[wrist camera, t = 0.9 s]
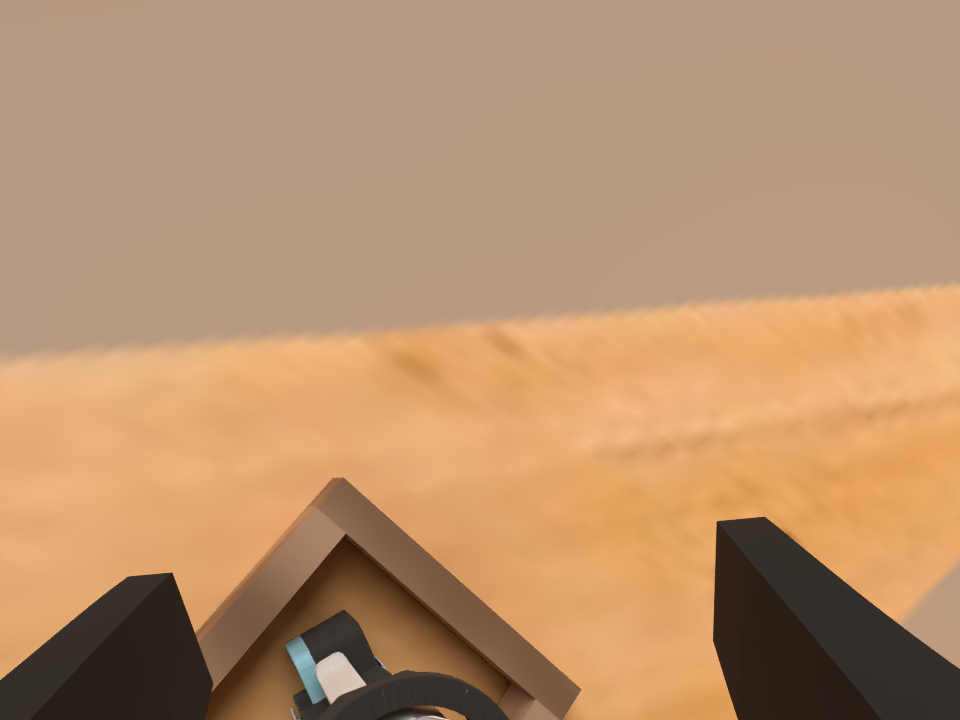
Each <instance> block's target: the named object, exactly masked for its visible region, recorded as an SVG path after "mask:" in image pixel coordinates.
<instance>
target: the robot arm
mask: <svg viewBox="0 0 960 720" xmlns="http://www.w3.org/2000/svg"><path fill="white" fill-rule="evenodd" d="M713 641H714V645H715V648H716V651H717V655H718V658H719V661H720V665H721V668H722V671H723V674H724V678H725V681H726V684H727V687H728V690H729V693H730V697H731V700H732V703H733V706H734V709H735V712H736V715H737V718H738V720H960V669H959V668H957V667H956V666H955V665H953V664H952V663H950V662H949V661H948V660H946V659H945V658H943V657H942V656H941V655H939V654H938V653H937V652H935V651H934V650H933V649H931V648H930V647H928V646H927V645H926V644H924V643H923V642H922V641H920V640H919V639H918V638H916V637H915V636H914V635H912V634H911V633H910V632H908V631H907V630H906V629H904V628H903V627H902V626H900V625H899V624H898V623H897V622H895V621H894V620H893V619H891V618H890V617H889V616H887V615H886V614H885V613H883V612H882V611H881V610H880V609H878V608H877V607H876V606H874V605H873V604H872V603H871V602H869V601H868V600H867V599H865V598H864V597H863V596H862V595H860V594H859V593H858V592H857V591H855V590H854V589H853V588H852V587H850V586H849V585H848V584H847V583H845V582H844V581H843V580H842V579H840V578H839V577H838V576H837V575H836V574H834V573H833V572H832V571H831V570H829V569H828V568H827V567H826V566H824V565H823V564H822V563H821V562H820V561H818V560H817V559H816V558H815V557H813V556H812V555H811V554H810V553H809V552H807V551H806V550H805V549H804V548H802V547H801V546H800V545H799V544H798V543H796V542H795V541H794V540H793V539H791V538H790V537H789V536H788V535H787V534H785V533H784V532H783V531H782V530H781V529H779V528H778V527H777V526H776V525H774V524H773V523H772V522H771V521H769V520H768V519H767V518H766V517H758V518H747V519H736V520H726V521H717V531H716V563H715V596H714V628H713ZM213 684H214V683H213V681H212V678H211V675H210V673H209V670H208V667H207V665H206V662H205V659H204V656H203V654H202V651H201V648H200V646H199V643H198V640H197V638H196V635H195V632H194V630H193V627H192V624H191V622H190V619H189V616H188V613H187V611H186V608H185V605H184V603H183V600H182V597H181V595H180V592H179V589H178V587H177V584H176V581H175V579H174V576H173V573H162V574H151V575H141V576H130V577H127V578H126V579H124V580H123V581H122V582H120V583H119V584H117V585H116V586H115V587H113V588H112V589H111V590H109V591H108V592H107V593H106V594H104V595H103V596H102V597H101V598H99V599H98V600H97V601H96V602H94V603H93V604H92V605H91V606H89V607H88V608H87V609H86V610H84V611H83V612H82V613H81V614H80V615H78V616H77V617H76V618H75V619H74V620H72V621H71V622H70V623H69V624H67V625H66V626H65V627H64V628H63V629H61V630H60V631H59V632H58V633H57V634H55V635H54V636H53V637H52V638H51V639H49V640H48V641H47V642H46V643H45V644H43V645H42V646H41V647H40V648H39V649H38V650H36V651H35V652H34V653H33V654H31V655H30V656H29V657H28V658H27V659H25V660H24V661H23V662H22V663H21V664H19V665H18V666H17V667H16V668H15V669H13V670H12V671H11V672H10V673H9V674H7V675H6V676H5V677H4V678H2V679H1V680H0V720H205V716H206V712H207V708H208V704H209V700H210V696H211V692H212V688H213Z"/></svg>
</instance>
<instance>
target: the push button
mask: <svg viewBox="0 0 960 720" xmlns="http://www.w3.org/2000/svg"><path fill="white" fill-rule="evenodd" d="M284 645H285V647H286V649H287V651H288V654H289V656H290V658H291V660H292V662H293V664H295V666H296V668H297V670H298V673H299V675H300V677H301V679H302V681H303V683H304V686H305V689H303V690H302V691H300V692H299V693H297V694H295V695H294V696H293V699H294V702H295V704H296V706H297V708H298V711H299V713H300V715H301V717H300V719H297V716H296V714H295V712H294V710H293V708H291V709H290V710H291V713H292V716H293V719H294V720H449V719H447V718H445V717H444V716H443V715H442V714H441V713H440V712H439V711H438V710H437V709H436V708H435V707H434V706H437V707H443V708H447V709H450V710H453V711H456V712H458V713H460V714H462V715H464V716H465V717H466V719H467V720H509V718H508V717H507V716H506V714H505V713H504V712H503V711H502V710H501V709H500V707H499V706H498V705H497V704H496V703H495V702H494V701H492V700H491V699H490V698H489V697H488V696H487V695H485V694H484V693H483V692H481V691H480V690H478V689H477V688H475V687H474V686H472V685H470V684H469V683H467V682H465V681H463V680H460V679H458V678H455V677H452V676H449V675H444V674H440V673H431V672H414V671H408V670H406V671H402V672H399V673H397V674H394V675H391V674H390V673H389V672H388V671H387V670H386V667H385V665H383V663H382V662H381V661H380V660H379V659H378V658H377V657H376V656H375V657H374V655H373V653H372V651H371V649H370V647H369V644H368V642H367V640H366V638H365V636H364V634H363V631H362V629H361V627H360V626H359V624H358V622H357V621H356V620H355V619H354V618H353V617H351V616H350V615H349V614H348V613H347V612H346V611H345V610H343V611H341V612H339V613H337V614H336V615H334V616H332V617H331V618H329V619H327V620H325V621H324V622H322V623H320V624H318V625H317V626H315V627H313V628H311V629H310V630H308V631H306V632H305V633H303V634H301V635H300V636H298V637H296V638H295V639H293V640H291V641H289V642H288V643H286V644H284Z"/></svg>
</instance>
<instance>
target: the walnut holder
mask: <svg viewBox="0 0 960 720" xmlns="http://www.w3.org/2000/svg"><path fill="white" fill-rule="evenodd" d="M342 537H345V538H346V539H347V540H348V541H349V542H350V543H352V544H353V545H354V546H355V547H356V548H357V549H358V550H360V551H361V552H362V553H363V554H364V555H365V556H366V557H368V558H369V559H370V560H371V561H372V562H373V563H374V564H376V565H377V566H378V567H379V568H380V569H381V570H382V571H384V572H385V573H386V574H387V575H388V576H389V577H390V578H392V579H393V580H394V581H395V582H396V583H397V584H398V585H400V586H401V587H402V588H403V589H404V590H405V591H407V592H408V593H409V594H410V595H411V596H412V597H413V598H415V599H416V600H417V601H418V602H419V603H420V604H421V605H423V606H424V607H425V608H426V609H427V610H428V611H429V612H431V613H432V614H433V615H434V616H435V617H436V618H437V619H439V620H440V621H441V622H442V623H443V624H444V625H445V626H447V627H448V628H449V629H450V630H451V631H452V632H453V633H455V634H456V635H457V636H458V637H459V638H460V639H462V640H463V641H464V642H465V643H466V644H467V645H468V646H470V647H471V648H472V649H473V650H474V651H475V652H476V653H478V654H479V655H480V656H481V657H482V658H483V659H484V660H486V661H487V662H488V663H489V664H490V665H491V666H492V667H494V668H495V669H496V670H497V671H498V672H499V673H500V674H502V675H503V676H504V677H505V678H506V679H507V680H508V681H510V682H511V685H510V686H509V688H508V689H507V691H506V692H505V694H504V695H503V697H502V698H501V700H500V701H499V703H498V704H497V705H498V706H499V707H500V709H501V710H502V711H503V712H504V713H505V714H506V716H507V717H508V718H509V720H563V718H564V716H565V715H566V713H567V712H568V710H569V708H570V707H571V705H572V704H573V702H574V700H575V699H576V697H577V696H578V694H579V693H580V691H581V689H580V688H579V687H578V686H577V685H576V684H575V683H573V682H572V681H571V680H570V679H569V678H568V677H567V676H566V675H565V674H563V673H562V672H561V671H560V670H559V669H558V668H557V667H556V666H554V665H553V664H552V663H551V662H550V661H549V660H548V659H547V658H545V657H544V656H543V655H542V654H541V653H540V652H539V651H538V650H536V649H535V648H534V647H533V646H532V645H531V644H530V643H529V642H527V641H526V640H525V639H524V638H523V637H522V636H521V635H520V634H518V633H517V632H516V631H515V630H514V629H513V628H512V627H511V626H509V625H508V624H507V623H506V622H505V621H504V620H503V619H502V618H500V617H499V616H498V615H497V614H496V613H495V612H494V611H493V610H492V609H490V608H489V607H488V606H487V605H486V604H485V603H484V602H483V601H481V600H480V599H479V598H478V597H477V596H476V595H475V594H474V593H472V592H471V591H470V590H469V589H468V588H467V587H466V586H465V585H463V584H462V583H461V582H460V581H459V580H458V579H457V578H456V577H454V576H453V575H452V574H451V573H450V572H449V571H448V570H447V569H445V568H444V567H443V566H442V565H441V564H440V563H439V562H438V561H436V560H435V559H434V558H433V557H432V556H431V555H430V554H429V553H427V552H426V551H425V550H424V549H423V548H422V547H421V546H420V545H419V544H417V543H416V542H415V541H414V540H413V539H412V538H411V537H410V536H408V535H407V534H406V533H405V532H404V531H403V530H402V529H401V528H399V527H398V526H397V525H396V524H395V523H394V522H393V521H392V520H390V519H389V518H388V517H387V516H386V515H385V514H384V513H383V512H381V511H380V510H379V509H378V508H377V507H376V506H375V505H374V504H372V503H371V502H370V501H369V500H368V499H367V498H366V497H365V496H363V495H362V494H361V493H360V492H359V491H358V490H357V489H356V488H354V487H353V486H352V485H351V484H350V483H349V482H348V481H347V480H346V479H344V478H333V479H332V480H331V481H330V482H329V483H328V484H327V486H326V487H325V488H324V489H323V490H322V491H321V492H320V494H319V495H318V496H317V497H316V498H315V499H314V500H313V501H312V503H311V504H310V505H309V506H308V507H307V508H306V509H305V510H304V512H303V513H302V514H301V515H300V516H299V517H298V518H297V519H296V521H295V522H294V523H293V524H292V525H291V526H290V527H289V529H288V530H287V531H286V532H285V533H284V534H283V535H282V536H281V538H280V539H279V540H278V541H277V542H276V543H275V544H274V545H273V547H272V548H271V549H270V550H269V551H268V552H267V553H266V554H265V556H264V557H263V558H262V559H261V560H260V561H259V562H258V564H257V565H256V566H255V567H254V568H253V569H252V570H251V571H250V573H249V574H248V575H247V576H246V577H245V578H244V579H243V580H242V582H241V583H240V584H239V585H238V586H237V587H236V588H235V589H234V591H233V592H232V593H231V594H230V595H229V596H228V597H227V599H226V600H225V601H224V602H223V603H222V604H221V605H220V606H219V608H218V609H217V610H216V611H215V612H214V613H213V614H212V615H211V617H210V618H209V619H208V620H207V621H206V622H205V623H204V624H203V626H202V627H201V628H200V629H199V630H198V631H197V632H196V634H195V635H196V638H197V640H198V643H199V646H200V648H201V651H202V654H203V656H204V659H205V662H206V665H207V667H208V670H209V673H210V675H211V678H212V681H213V683H214V684H213V688H212V691H213V690H214V689H215V688H216V687H217V685H218V684H219V683H220V682H221V681H222V679H223V678H224V677H225V676H226V675H227V674H228V672H229V671H230V670H231V669H232V668H233V666H234V665H235V664H236V663H237V662H238V660H239V659H240V658H241V657H242V656H243V655H244V653H245V652H246V651H247V650H248V649H249V647H250V646H251V645H252V644H253V643H254V642H255V640H256V639H257V638H258V637H259V636H260V634H261V633H262V632H263V631H264V630H265V629H266V627H267V626H268V625H269V624H270V623H271V621H272V620H273V619H274V618H275V617H276V616H277V614H278V613H279V612H280V611H281V610H282V608H283V607H284V606H285V605H286V604H287V603H288V601H289V600H290V599H291V598H292V597H293V595H294V594H295V593H296V592H297V591H298V590H299V588H300V587H301V586H302V585H303V584H304V582H305V581H306V580H307V579H308V578H309V576H310V575H311V574H312V573H313V572H314V571H315V569H316V568H317V567H318V566H319V565H320V563H321V562H322V561H323V560H324V559H325V558H326V556H327V555H328V554H329V553H330V552H331V550H332V549H333V548H334V547H335V546H336V545H337V543H338V542H339V541H340V540H341V539H342Z"/></svg>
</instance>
